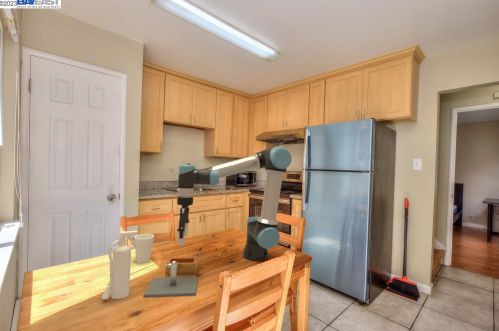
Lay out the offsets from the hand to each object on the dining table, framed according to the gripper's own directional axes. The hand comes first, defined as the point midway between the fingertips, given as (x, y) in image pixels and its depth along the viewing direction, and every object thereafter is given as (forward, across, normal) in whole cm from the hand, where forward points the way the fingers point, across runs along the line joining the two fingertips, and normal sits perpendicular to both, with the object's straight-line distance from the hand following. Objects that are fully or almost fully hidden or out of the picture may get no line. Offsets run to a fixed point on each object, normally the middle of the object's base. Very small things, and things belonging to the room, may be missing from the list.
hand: (182, 240), depth 114 cm
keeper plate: (+16, +13, -2) cm, 21 cm away
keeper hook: (+15, +13, -3) cm, 20 cm away
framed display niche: (+16, 0, 0) cm, 16 cm away
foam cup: (+16, -15, -22) cm, 31 cm away
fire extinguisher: (+16, +18, -22) cm, 32 cm away
